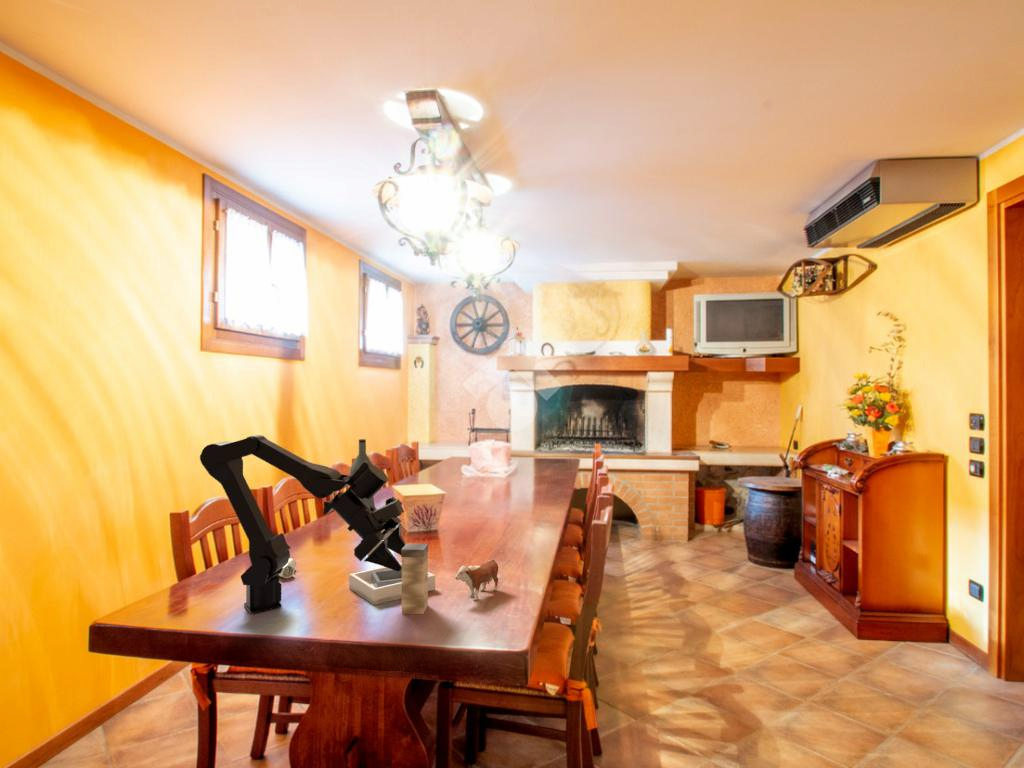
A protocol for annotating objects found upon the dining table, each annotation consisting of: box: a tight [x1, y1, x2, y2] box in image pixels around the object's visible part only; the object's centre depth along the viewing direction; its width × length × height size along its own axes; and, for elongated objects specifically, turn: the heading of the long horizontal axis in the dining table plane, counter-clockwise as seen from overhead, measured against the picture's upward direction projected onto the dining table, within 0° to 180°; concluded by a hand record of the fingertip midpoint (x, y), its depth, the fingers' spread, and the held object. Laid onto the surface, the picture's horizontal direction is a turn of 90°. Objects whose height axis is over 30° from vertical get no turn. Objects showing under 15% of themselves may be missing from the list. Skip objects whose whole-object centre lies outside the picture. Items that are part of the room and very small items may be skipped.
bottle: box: [349, 438, 376, 508], centre depth 216 cm, size 9×9×30 cm
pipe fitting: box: [277, 558, 297, 580], centre depth 152 cm, size 8×4×7 cm
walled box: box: [348, 562, 436, 606], centre depth 140 cm, size 16×14×4 cm
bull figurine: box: [454, 559, 499, 602], centre depth 135 cm, size 4×13×8 cm, turn 140°
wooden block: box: [400, 542, 429, 615], centre depth 127 cm, size 5×5×14 cm
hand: (405, 563), depth 127 cm, fingers open, 9 cm apart
